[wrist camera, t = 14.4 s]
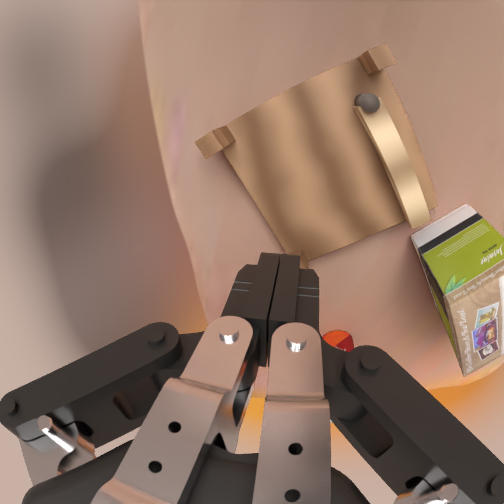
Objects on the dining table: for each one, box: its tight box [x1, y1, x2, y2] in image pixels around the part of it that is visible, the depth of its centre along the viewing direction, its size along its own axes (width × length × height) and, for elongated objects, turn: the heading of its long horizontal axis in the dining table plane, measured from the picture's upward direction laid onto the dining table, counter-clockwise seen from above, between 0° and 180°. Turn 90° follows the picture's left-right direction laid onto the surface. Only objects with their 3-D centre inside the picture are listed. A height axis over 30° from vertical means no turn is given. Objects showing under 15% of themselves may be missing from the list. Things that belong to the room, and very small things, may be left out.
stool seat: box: [195, 44, 438, 269], centre depth 27 cm, size 20×19×7 cm
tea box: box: [410, 204, 504, 377], centre depth 26 cm, size 15×10×15 cm
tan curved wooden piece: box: [353, 93, 431, 229], centre depth 25 cm, size 15×2×4 cm, turn 34°
